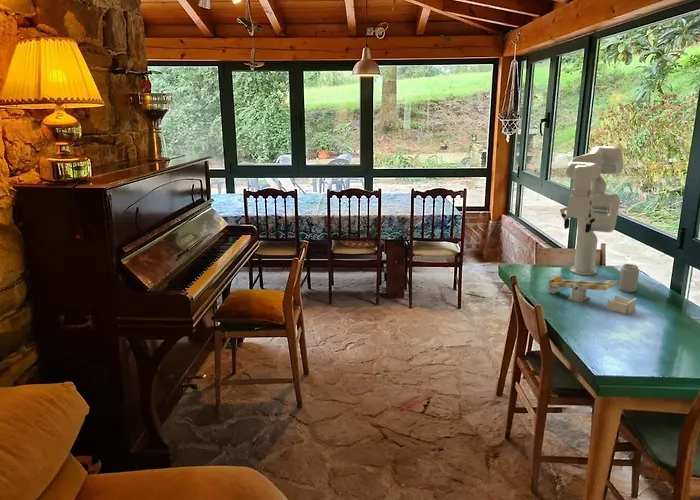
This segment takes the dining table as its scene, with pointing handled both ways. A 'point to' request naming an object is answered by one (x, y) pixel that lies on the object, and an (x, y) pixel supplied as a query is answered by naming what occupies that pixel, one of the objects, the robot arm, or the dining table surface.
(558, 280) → the ball
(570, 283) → the lever
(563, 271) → the dining table surface
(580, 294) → the fulcrum
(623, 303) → the dish
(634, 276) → the can
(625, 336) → the dining table surface
